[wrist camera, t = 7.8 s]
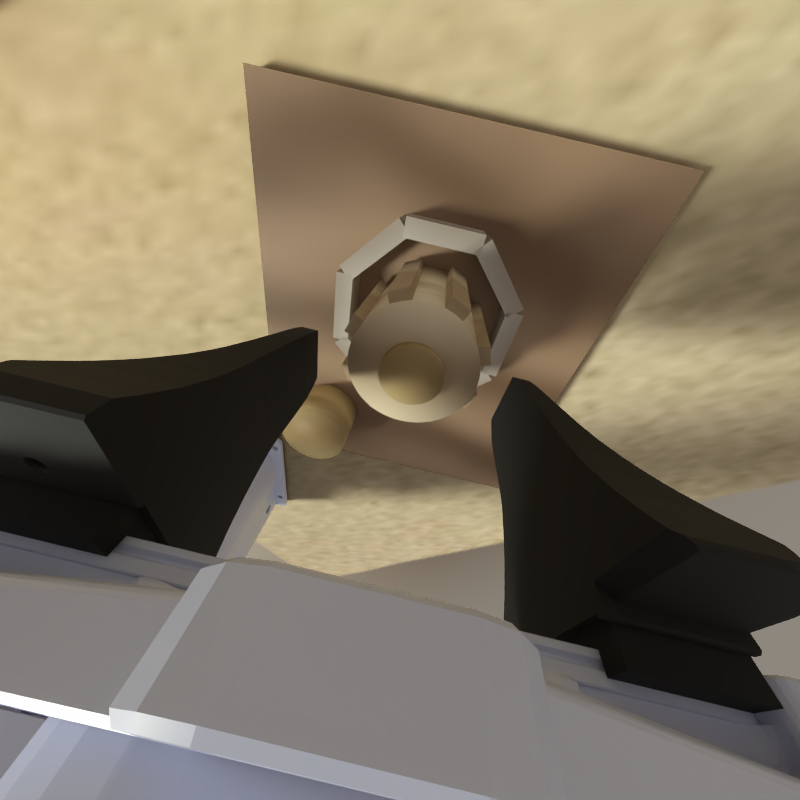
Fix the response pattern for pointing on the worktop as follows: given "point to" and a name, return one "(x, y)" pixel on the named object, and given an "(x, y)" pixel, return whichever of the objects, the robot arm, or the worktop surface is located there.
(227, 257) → the worktop surface
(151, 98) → the worktop surface
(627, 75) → the worktop surface
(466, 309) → the planet gear
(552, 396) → the board
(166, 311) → the worktop surface
